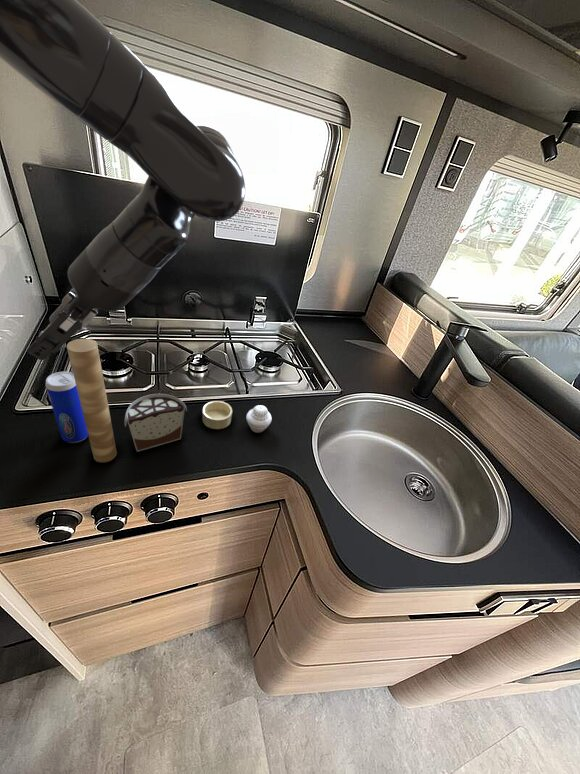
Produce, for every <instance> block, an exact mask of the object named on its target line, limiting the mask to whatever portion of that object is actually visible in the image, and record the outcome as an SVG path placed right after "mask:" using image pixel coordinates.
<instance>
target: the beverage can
mask: <svg viewBox="0 0 580 774" xmlns="http://www.w3.org/2000/svg"><path fill="white" fill-rule="evenodd" d="M45 389H46V392H47V395H48V399H49V402H50V405H51V408H52V411H53V414H54V418H55V421H56V424H57V427H58V430H59V434H60V437H61V439H62V441H64V442H66V443H70V444H76V443H80V442H82V441H84V440H86V439H87V438H88V432H87V428H86V424H85V420H84V416H83V412H82V408H81V404H80V400H79V396H78V391H77V387H76V383H75V379H74V375H73V372H71V371H58V372H54V373H51V374H50V375H48V376H47V377H46V379H45Z"/></svg>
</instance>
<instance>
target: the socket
mask: <svg viewBox="0 0 580 774" xmlns="http://www.w3.org/2000/svg"><path fill="white" fill-rule="evenodd" d="M201 411H202V413H201V414H202V415H201V417H202V418H201V419H202V423H203V425H204V426H205V427H206V428H209V429H213V430H221V429H225V428H227V427H228V426H230V425H231V422H232V419H233V408H232V406H231V405H230V404H229V403H227V402H225V401H221V400H212V401H209V402H207V403H205V404H204V405H203V407H202V409H201Z"/></svg>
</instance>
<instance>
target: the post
mask: <svg viewBox="0 0 580 774" xmlns="http://www.w3.org/2000/svg"><path fill="white" fill-rule="evenodd" d="M66 350H67V355H68V358H69V363H70V366H71V371H72V373H73V375H74V379H75V383H76V387H77V391H78V396H79V400H80V404H81V408H82V412H83V416H84V420H85V424H86V428H87V432H88V436H87V438H88V440H89V445H90V448H91V452H92V456H93V459H94V461H95V462H97V463H103V464H104V463H108V462H111V461H112V460H114V459H115V458H116V457H117V455H118V452H117V447H116V441H115V436H114V429H113V423H112V418H111V413H110V406H109V402H108V396H107V390H106V385H105V379H104V374H103V368H102V363H101V357H100V351H99V346H98V342H97V341H96V340H94V339H91V338H76V339H73V340H71V341H69V342H68V343H67V344H66Z"/></svg>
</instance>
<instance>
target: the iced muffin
mask: <svg viewBox="0 0 580 774" xmlns="http://www.w3.org/2000/svg"><path fill="white" fill-rule="evenodd" d="M185 412H188V407H187V405H186V404H185V402H183V400H182V399H181V398H179V397H177V396H174V395H173V394H172V395H171V394H167V393H152V394H147V395H143V396H141V397H138V398H137V399H135V400H134V401H133V402H131V404H129V405H128V408H127V409H126V411H125V414H124V420H123V421H124V422H123V423H124V427H127V425H128V429H129V431H130V434H131V437H132V440H133V445H134V447H135V451H136V453H138V452H142V451H145V450H149V449H152V448H155V447H158V446H162V445H166V444H169V443H172V442H176V441H179V440H182V434H183V425H184V418H185Z"/></svg>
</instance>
